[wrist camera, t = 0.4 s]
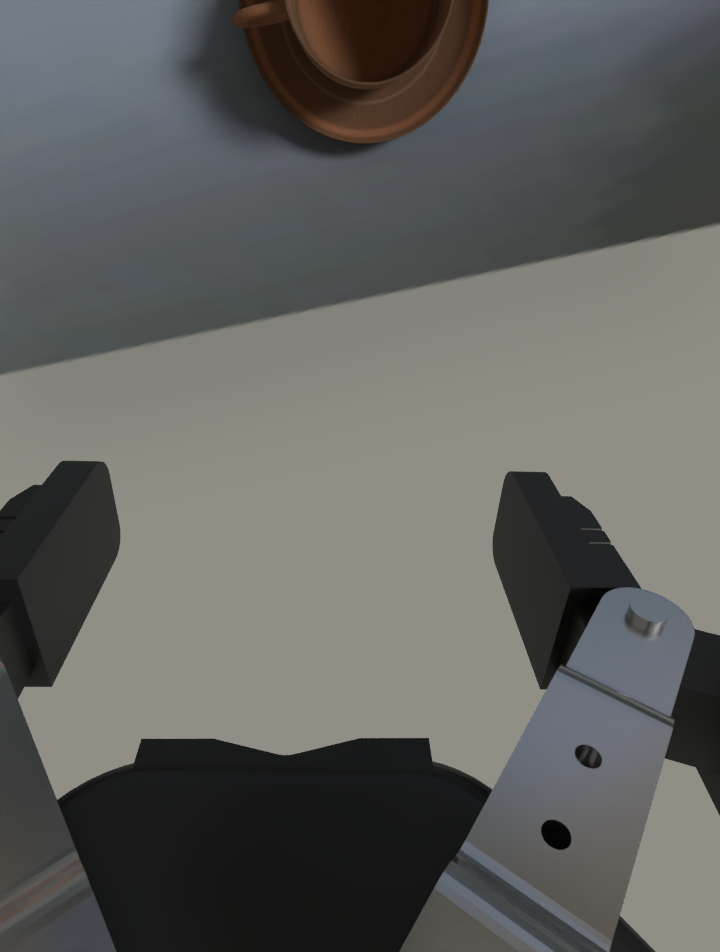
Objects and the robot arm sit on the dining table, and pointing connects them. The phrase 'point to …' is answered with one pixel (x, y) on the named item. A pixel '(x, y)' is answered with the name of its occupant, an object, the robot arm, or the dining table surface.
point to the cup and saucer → (363, 60)
